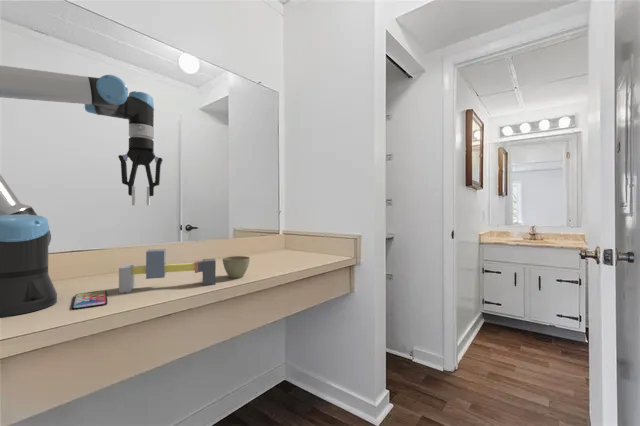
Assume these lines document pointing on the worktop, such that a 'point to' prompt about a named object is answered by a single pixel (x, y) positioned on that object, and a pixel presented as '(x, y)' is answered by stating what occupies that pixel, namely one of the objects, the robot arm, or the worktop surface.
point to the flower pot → (236, 265)
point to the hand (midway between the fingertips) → (141, 205)
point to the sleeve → (155, 263)
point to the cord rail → (130, 270)
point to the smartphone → (89, 300)
